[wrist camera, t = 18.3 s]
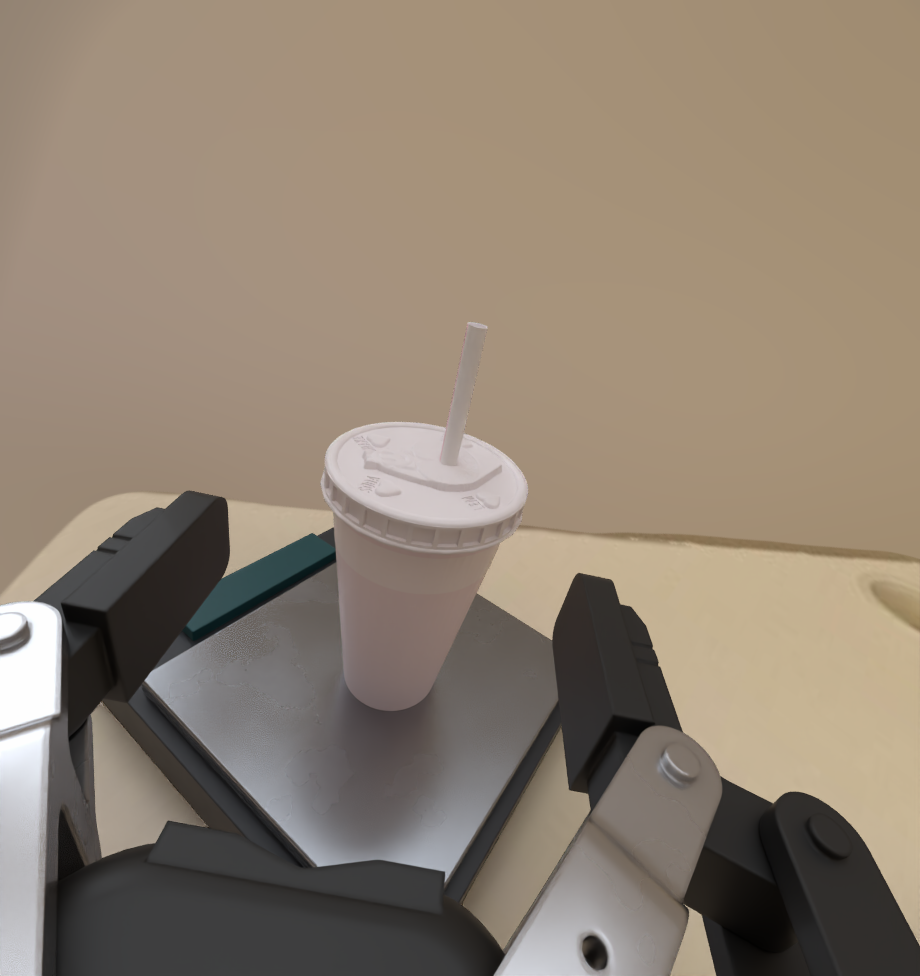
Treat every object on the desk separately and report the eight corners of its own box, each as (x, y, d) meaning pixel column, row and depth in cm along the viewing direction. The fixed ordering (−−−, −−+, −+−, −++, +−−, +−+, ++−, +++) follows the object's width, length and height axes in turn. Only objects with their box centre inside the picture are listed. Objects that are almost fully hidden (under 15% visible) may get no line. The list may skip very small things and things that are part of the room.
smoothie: (484, 736, 18) (621, 379, 11) (304, 756, 16) (334, 339, 9) (448, 609, 23) (527, 311, 16) (309, 613, 22) (330, 278, 15)
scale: (95, 693, 20) (81, 644, 19) (345, 550, 31) (349, 511, 29) (386, 1036, 14) (401, 1004, 12) (574, 704, 24) (594, 664, 23)
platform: (141, 691, 18) (138, 677, 17) (381, 544, 28) (383, 533, 27) (396, 971, 13) (401, 960, 12) (577, 670, 23) (583, 659, 22)
